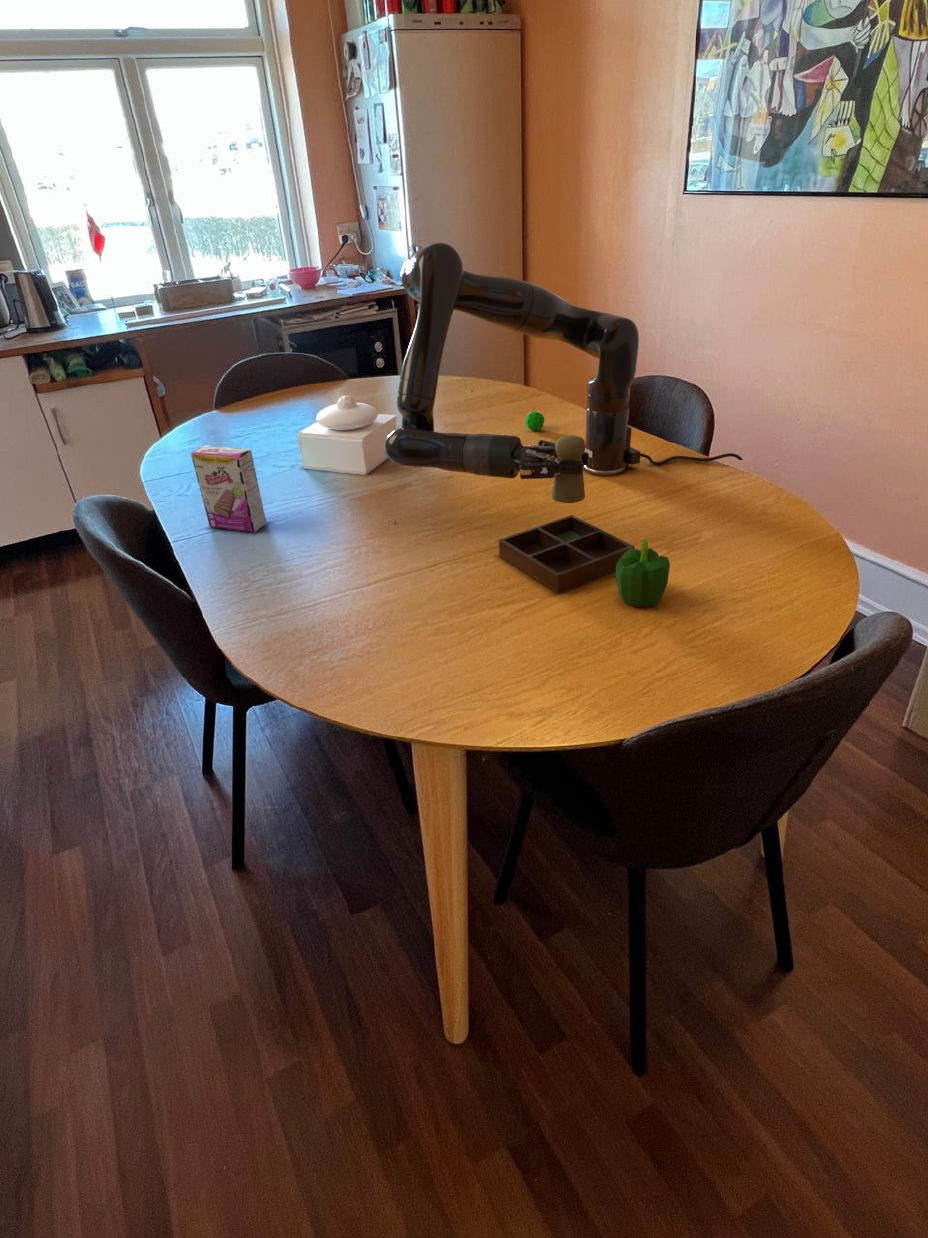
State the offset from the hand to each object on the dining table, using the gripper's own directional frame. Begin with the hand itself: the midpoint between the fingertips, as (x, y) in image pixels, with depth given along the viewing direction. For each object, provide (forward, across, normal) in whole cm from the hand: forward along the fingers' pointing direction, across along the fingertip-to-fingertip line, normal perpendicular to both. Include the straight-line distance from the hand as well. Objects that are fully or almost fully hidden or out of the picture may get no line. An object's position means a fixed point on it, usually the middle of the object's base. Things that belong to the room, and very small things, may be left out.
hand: (585, 463), depth 130 cm
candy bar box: (-70, -8, +17) cm, 73 cm away
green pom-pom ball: (-26, +64, +17) cm, 71 cm away
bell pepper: (+13, -17, +16) cm, 27 cm away
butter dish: (-65, +34, +17) cm, 75 cm away
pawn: (-3, 0, +7) cm, 7 cm away
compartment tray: (-2, -6, +16) cm, 17 cm away
